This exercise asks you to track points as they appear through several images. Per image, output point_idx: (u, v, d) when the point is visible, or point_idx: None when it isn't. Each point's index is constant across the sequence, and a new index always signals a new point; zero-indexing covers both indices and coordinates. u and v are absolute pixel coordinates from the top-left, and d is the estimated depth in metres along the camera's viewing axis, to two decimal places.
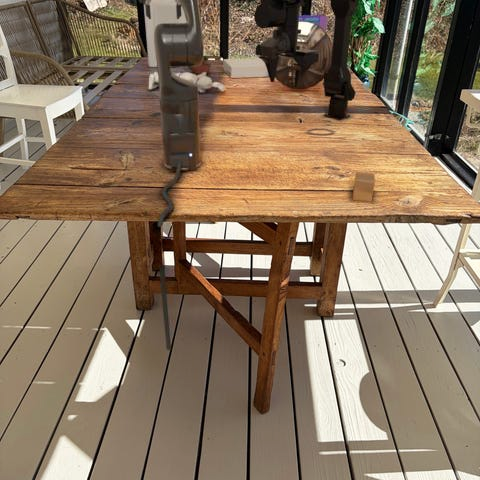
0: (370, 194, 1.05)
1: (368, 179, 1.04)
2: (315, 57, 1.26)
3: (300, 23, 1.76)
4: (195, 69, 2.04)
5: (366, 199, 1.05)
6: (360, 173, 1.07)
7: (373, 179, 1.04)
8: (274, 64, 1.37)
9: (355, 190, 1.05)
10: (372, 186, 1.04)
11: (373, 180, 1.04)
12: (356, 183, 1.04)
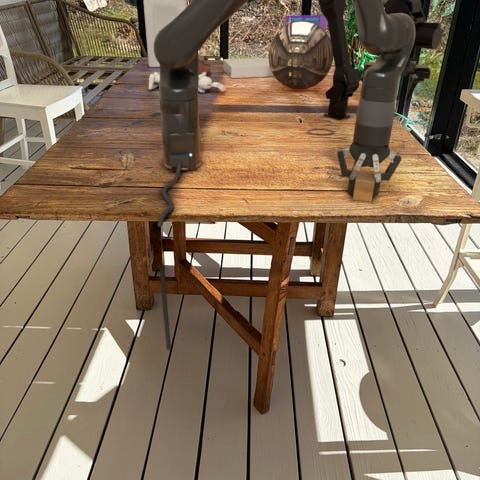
0: (370, 194, 1.05)
1: (368, 179, 1.04)
2: None
3: (300, 23, 1.76)
4: None
5: (366, 199, 1.05)
6: (360, 173, 1.07)
7: (373, 179, 1.04)
8: None
9: (355, 190, 1.05)
10: (372, 186, 1.04)
11: (373, 180, 1.04)
12: (356, 183, 1.04)
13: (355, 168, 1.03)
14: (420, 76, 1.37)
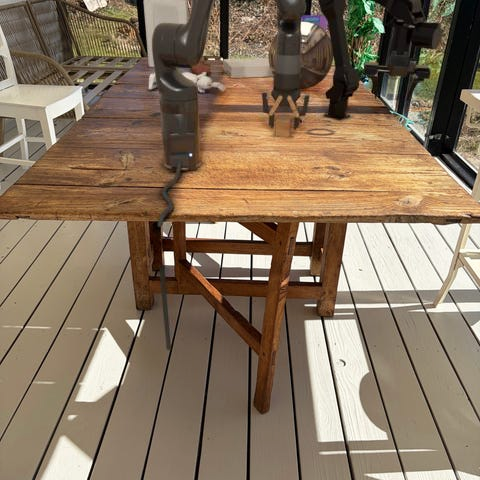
0: (287, 131, 1.41)
1: (285, 120, 1.40)
2: None
3: None
4: (195, 69, 2.04)
5: (285, 135, 1.42)
6: (281, 116, 1.43)
7: (289, 120, 1.41)
8: None
9: (276, 128, 1.41)
10: (288, 124, 1.40)
11: (289, 120, 1.40)
12: (277, 122, 1.40)
13: (274, 106, 1.39)
14: (420, 76, 1.37)
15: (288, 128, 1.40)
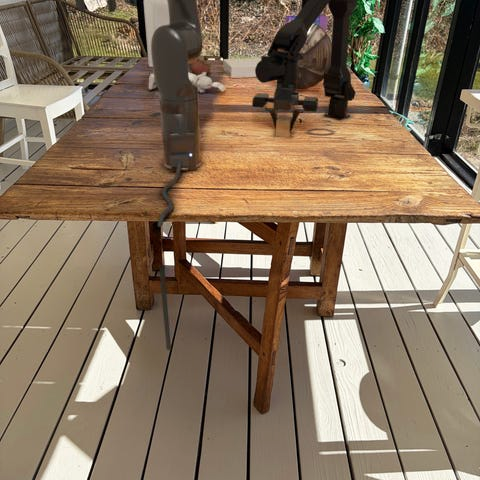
0: (287, 131, 1.41)
1: (285, 120, 1.40)
2: (317, 103, 1.38)
3: None
4: (195, 69, 2.04)
5: (285, 135, 1.42)
6: (281, 116, 1.43)
7: (289, 120, 1.40)
8: (276, 113, 1.42)
9: (276, 128, 1.41)
10: (288, 124, 1.40)
11: (289, 120, 1.40)
12: (277, 122, 1.40)
13: None
14: (307, 109, 1.36)
15: (288, 128, 1.40)
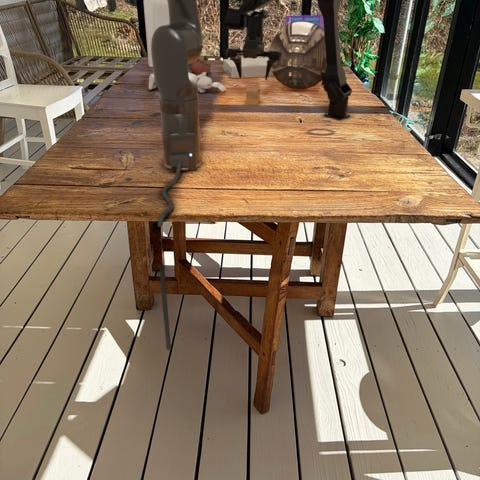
0: (255, 99, 1.70)
1: (254, 90, 1.70)
2: (281, 54, 1.64)
3: (300, 23, 1.76)
4: (195, 69, 2.04)
5: (253, 103, 1.71)
6: (251, 88, 1.73)
7: (257, 90, 1.70)
8: (240, 63, 1.69)
9: (246, 97, 1.71)
10: (256, 94, 1.69)
11: (257, 90, 1.70)
12: (246, 92, 1.70)
13: None
14: (271, 58, 1.62)
15: (256, 97, 1.70)
